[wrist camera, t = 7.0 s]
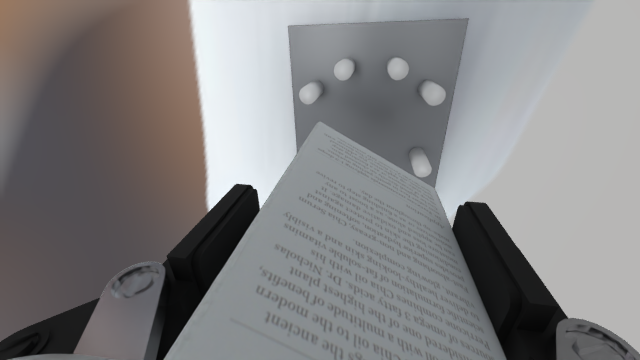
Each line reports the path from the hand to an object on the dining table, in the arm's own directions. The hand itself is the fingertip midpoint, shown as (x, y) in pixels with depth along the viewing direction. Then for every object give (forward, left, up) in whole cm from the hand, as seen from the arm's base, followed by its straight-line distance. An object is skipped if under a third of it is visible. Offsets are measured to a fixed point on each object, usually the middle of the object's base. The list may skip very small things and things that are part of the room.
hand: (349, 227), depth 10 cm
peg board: (+1, 0, -18) cm, 18 cm away
